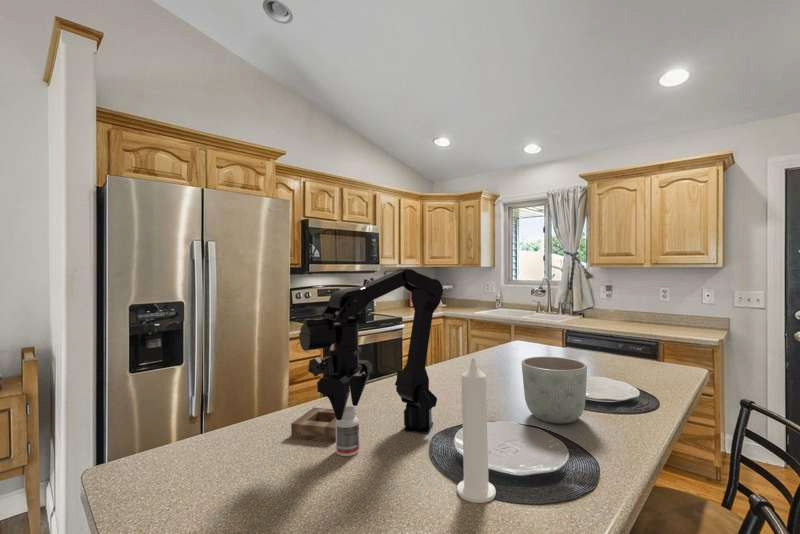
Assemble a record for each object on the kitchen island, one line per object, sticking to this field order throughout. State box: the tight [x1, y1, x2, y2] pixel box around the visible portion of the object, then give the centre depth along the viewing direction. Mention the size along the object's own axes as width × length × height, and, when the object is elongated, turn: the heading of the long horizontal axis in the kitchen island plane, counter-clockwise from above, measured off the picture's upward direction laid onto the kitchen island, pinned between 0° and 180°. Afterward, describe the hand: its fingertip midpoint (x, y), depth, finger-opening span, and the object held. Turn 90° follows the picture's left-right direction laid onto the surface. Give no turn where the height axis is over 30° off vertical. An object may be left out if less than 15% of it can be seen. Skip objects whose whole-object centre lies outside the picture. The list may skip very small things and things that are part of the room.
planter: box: [520, 355, 588, 425], centre depth 109 cm, size 17×17×15 cm
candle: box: [456, 357, 497, 504], centre depth 73 cm, size 7×7×25 cm
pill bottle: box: [335, 406, 360, 457], centre depth 91 cm, size 5×5×10 cm
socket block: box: [290, 407, 337, 443], centre depth 104 cm, size 12×12×4 cm
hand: (347, 412), depth 91 cm, fingers open, 9 cm apart
